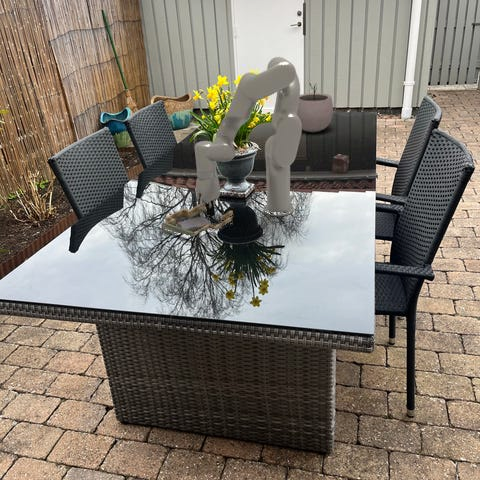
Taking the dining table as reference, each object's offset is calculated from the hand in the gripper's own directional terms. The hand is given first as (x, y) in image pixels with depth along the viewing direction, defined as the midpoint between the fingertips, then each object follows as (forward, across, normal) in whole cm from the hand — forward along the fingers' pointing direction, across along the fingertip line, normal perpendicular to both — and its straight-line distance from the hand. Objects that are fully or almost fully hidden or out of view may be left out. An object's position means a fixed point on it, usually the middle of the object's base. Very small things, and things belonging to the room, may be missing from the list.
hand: (210, 215), depth 196 cm
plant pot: (+2, -129, -23) cm, 131 cm away
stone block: (+2, +11, 0) cm, 12 cm away
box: (+2, -74, +22) cm, 77 cm away
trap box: (+1, +7, 0) cm, 7 cm away
